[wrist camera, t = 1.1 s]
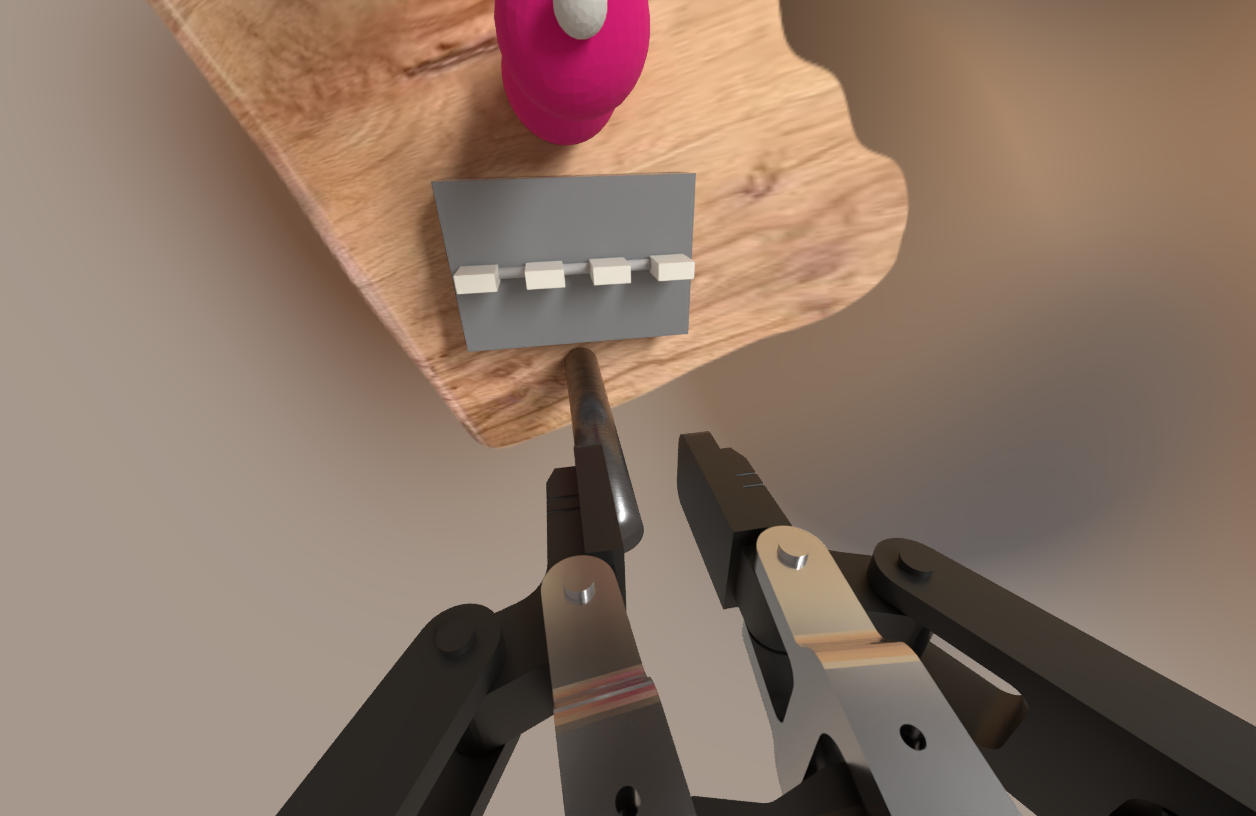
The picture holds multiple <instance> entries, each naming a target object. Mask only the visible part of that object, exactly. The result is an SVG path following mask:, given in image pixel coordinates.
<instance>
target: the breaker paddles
mask: <svg viewBox="0 0 1256 816" xmlns="http://www.w3.org/2000/svg"><path fill="white" fill-rule="evenodd" d="M694 266H695V261H693V260H692V259H690V258H689V257H687V256H686V255H684V254H671V255H653V256H650V259H639V260H626V259H625V258H624V257H618V258H600V259H589V262H587V263H570V264H563V263H562V261H547V262H530V263H526V266H518V267H500V268H498V264H494V265H477V266H460V268H459V269H458V270H457V272H456V273H455V274H454V276H453V277H454V282H455V287H456V291H457V294H469V293H484V292H497V290H498V287H499V284H500V279H510V278H526V285H527V290H530V289H546V288H561V287H565V278H564V275H576V274H590V277H591V279H592V281H593V284H594V285H607V284H623V283H631V271H641V270H650V273H651V274H652V275H653V276H654V277H655V278H656V279H657V280H658V281H669V280H684V279H694Z"/></svg>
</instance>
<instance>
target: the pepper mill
mask: <svg viewBox="0 0 1256 816" xmlns="http://www.w3.org/2000/svg"><path fill="white" fill-rule="evenodd" d="M494 20H495V27H496V34H497V41H498V44H499V47H500V50H501V54H502V63H501V68H502V79H503V84H504V89H505V92H506V95H507V98H508V101H509V103H510V105H511V107H512V109H513V111H514V112H515V114H516V115H517V117H518V118H519V120H520V121H521V122H522V123H523V124H524V125H525V126H526V127H527V128H528V129H529V130H530V131H531V132H532V133H534V134H535V135H536V136H538V137H539V138H541V139H543V140H545V141H548V142H550V143H554V144H558V145H574V144H579V143H582V142H585V141H587V140H588V139H590V138H592V137H594V136H595V135H596V134H597V133H598V132H600V131H601V129H602V128H603V127H604V126H605V125H606V123H607V122H608V120H609V119H610V117H611V115H612V113H613V111H614V109H615V108H616V107H617V106H619V105H620V104H621V103H622V102H623V101H624V100H625V99H626V97H627V96H628V95H629V94H630V92H631V91H632V90H633V88H634V87H635V85H636V83H637V81H638V79H639V77H640V75H641V72H642V69H643V67H644V63H645V60H646V56H647V53H648V46H649V38H650V14H649V5H648V0H495V11H494Z"/></svg>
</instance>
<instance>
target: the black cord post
mask: <svg viewBox="0 0 1256 816" xmlns="http://www.w3.org/2000/svg"><path fill="white" fill-rule="evenodd" d="M565 367H566V376H567V385H568V393H569V402H570V411H571V419H572V428H573V436H574V444H575V446H582V445H591V444H600V443H602V447H603V452H604V456H605V461H606V466H607V470H608V475H609V480H610V485H611V489H612V494H613V499H614V503H615V508H616V513H617V518H618V522H619V527H620V532H621V536H622V541H623V546H624V553H625V552H628V551H630V550H631V549H633V548H634V547H635V546H636V545H637V544H638V543H639V542H640V541H641V539H642V537H643V533H644V528H643V524H642V520H641V516H640V513H639V509H638V506H637V502H636V499H635V495H634V491H633V488H632V484H631V480H630V477H629V473H628V470H627V466H626V463H625V459H624V455H623V452H622V448H621V444H620V441H619V437H618V434H617V430H616V426H615V423H614V419H613V416H612V412H611V408H610V405H609V401H608V397H607V394H606V390H605V387H604V383H603V379H602V376H601V372H600V369H599V365H598V361H597V358H596V356H595V354H594V353H593V352H592V351H591V350H589V349H587V348H576V349H573V350H572V351H570V352H569V353H568V355H567V356H566V359H565Z"/></svg>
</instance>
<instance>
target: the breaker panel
mask: <svg viewBox="0 0 1256 816" xmlns="http://www.w3.org/2000/svg"><path fill="white" fill-rule="evenodd" d="M695 179H696V173H686V172H663V173H631V174H598V175H565V176H533V177H500V178H467V179H442V180H437V181H432V182H431V183H432V188H433V192H434V197H435V201H436V206H437V211H438V215H439V220H440V224H441V229H442V234H443V238H444V243H445V248H446V252H447V257H448V261H449V266H450V271H451V275H452V280H453V284H454V289H455V294H456V298H457V303H458V307H459V312H460V317H461V321H462V326H463V331H464V335H465V340H466V344H467V349H468V352H474V351H486V350H498V349H510V348H522V347H534V346H547V345H559V344H571V343H583V342H595V341H607V340H619V339H632V338H644V337H656V336H668V335H680V334H688V325H689V304H690V283H691V279H684V280H669V281H658V280H657V279H656V278H655V277H654V276H653V275H652V274H651V273H650V270H641V271H631V283H623V284H607V285H594V284H593V281H592V279H591V277H590V274H576V275H564V278H565V287H561V288H546V289H530V290H527V285H526V278H510V279H500V284H499V287H498V290H497V292H484V293H469V294H457V291H456V287H455V282H454V277H453V276H454V274H455V273H456V272H457V270H458V269H459V268H460V266H477V265H494V264H498V268H500V267H518V266H526V263H530V262H547V261H562V263H563V264H570V263H587V262H589V259H600V258H618V257H624V258H625V259H626V260H639V259H650V256H653V255H671V254H684V255H686V256H687V257H689V258H690V259H692V241H693V220H694V200H695Z"/></svg>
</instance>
